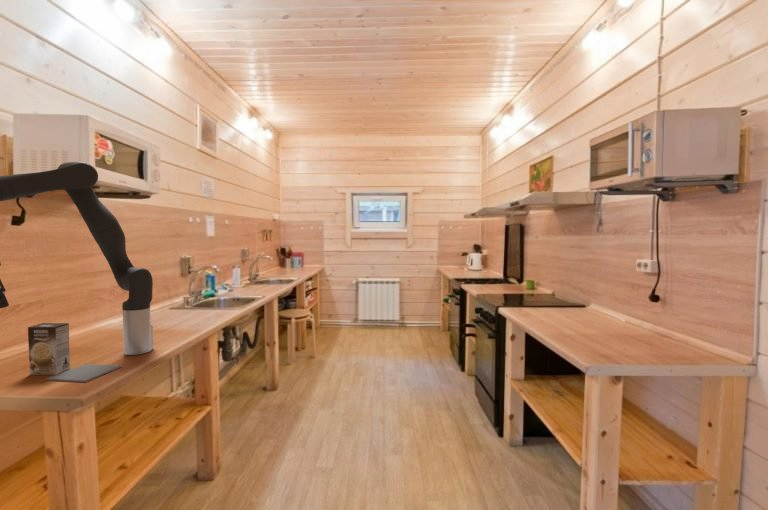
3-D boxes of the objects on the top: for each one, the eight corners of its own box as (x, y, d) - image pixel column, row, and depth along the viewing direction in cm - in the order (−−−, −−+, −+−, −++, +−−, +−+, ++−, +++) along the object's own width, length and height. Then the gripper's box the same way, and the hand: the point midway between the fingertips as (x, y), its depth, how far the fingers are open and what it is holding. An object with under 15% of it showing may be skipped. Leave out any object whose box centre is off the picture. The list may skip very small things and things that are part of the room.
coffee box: (28, 375, 129) (25, 327, 128) (44, 368, 135) (42, 322, 134) (56, 374, 129) (54, 326, 128) (71, 368, 136) (69, 322, 135)
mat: (86, 365, 138) (85, 363, 138) (121, 367, 136) (121, 365, 136) (46, 380, 124) (46, 378, 124) (85, 382, 122) (85, 380, 122)
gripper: (0, 249, 110) (23, 302, 114) (-11, 251, 118) (10, 301, 122) (-37, 257, 104) (-11, 313, 108) (-46, 258, 113) (-22, 311, 116)
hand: (0, 306), depth 115 cm, fingers open, 8 cm apart
